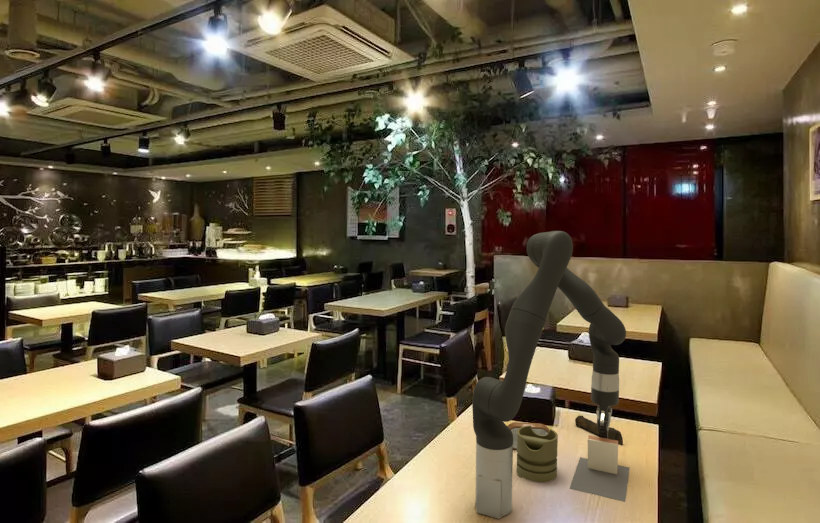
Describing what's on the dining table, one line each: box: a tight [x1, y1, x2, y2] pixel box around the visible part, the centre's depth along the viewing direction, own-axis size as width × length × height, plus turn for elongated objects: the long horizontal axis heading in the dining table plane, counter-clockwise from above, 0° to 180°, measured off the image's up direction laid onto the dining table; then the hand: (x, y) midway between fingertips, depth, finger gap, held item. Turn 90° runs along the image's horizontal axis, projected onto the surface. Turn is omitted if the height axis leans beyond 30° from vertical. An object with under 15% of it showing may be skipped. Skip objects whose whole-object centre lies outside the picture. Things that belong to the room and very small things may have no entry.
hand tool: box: [574, 415, 624, 446], centre depth 168 cm, size 19×4×5 cm, turn 24°
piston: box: [516, 425, 559, 483], centre depth 143 cm, size 11×12×11 cm
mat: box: [569, 456, 631, 503], centre depth 140 cm, size 20×14×1 cm
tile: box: [587, 434, 619, 474], centre depth 143 cm, size 2×8×10 cm, turn 62°
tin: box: [506, 421, 550, 451], centre depth 158 cm, size 15×3×8 cm, turn 84°
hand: (603, 443), depth 145 cm, fingers closed
